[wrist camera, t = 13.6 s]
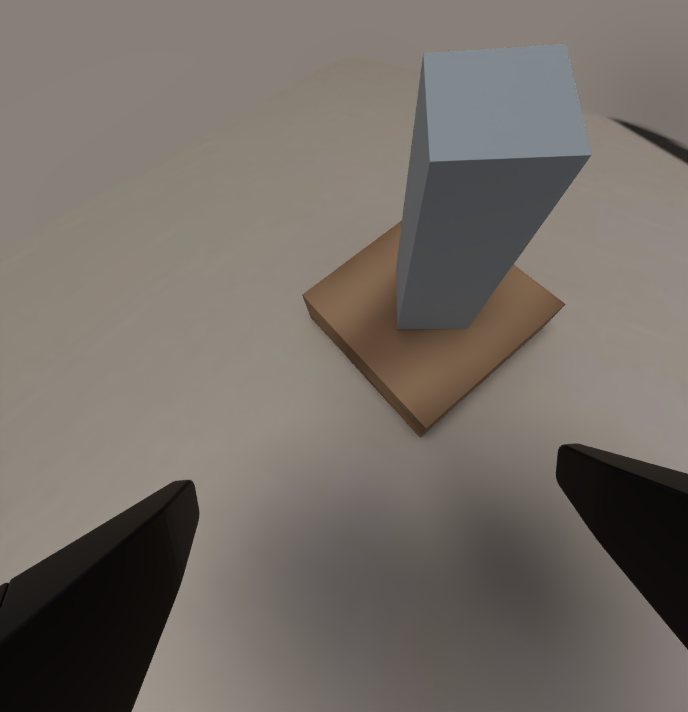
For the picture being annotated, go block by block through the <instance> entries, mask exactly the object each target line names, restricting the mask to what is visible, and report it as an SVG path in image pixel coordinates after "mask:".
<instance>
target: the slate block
mask: <svg viewBox="0 0 688 712" xmlns="http://www.w3.org/2000/svg"><path fill="white" fill-rule="evenodd" d="M590 156H591V151H590V147H589V142H588V138H587V133H586V129H585V125H584V120H583V116H582V112H581V107H580V103H579V99H578V94H577V90H576V86H575V81H574V77H573V72H572V68H571V64H570V59H569V55H568V51H567V46H566V44H557V45H541V46H526V47H512V48H511V47H510V48H494V49H479V50H463V51H447V52H432V53H423V61H422V68H421V75H420V83H419V91H418V99H417V107H416V115H415V123H414V130H413V138H412V146H411V154H410V162H409V170H408V177H407V185H406V193H405V201H404V209H403V217H402V224H401V232H400V240H399V248H398V256H397V264H396V300H397V329H468V327H469V326H470V324H471V323H472V322H473V320H474V319H475V317H476V316H477V315H478V313H479V312H480V310H481V309H482V308H483V306H484V305H485V303H486V302H487V301H488V299H489V298H490V296H491V295H492V294H493V292H494V291H495V289H496V288H497V287H498V285H499V284H500V282H501V281H502V280H503V278H504V277H505V275H506V274H507V273H508V271H509V270H510V268H511V267H512V266H513V264H514V263H515V261H516V260H517V259H518V257H519V256H520V254H521V253H522V252H523V250H524V249H525V247H526V246H527V245H528V243H529V242H530V240H531V239H532V238H533V236H534V235H535V233H536V232H537V231H538V229H539V228H540V226H541V225H542V224H543V222H544V221H545V219H546V218H547V217H548V215H549V214H550V212H551V211H552V210H553V208H554V207H555V205H556V204H557V203H558V201H559V200H560V198H561V197H562V196H563V194H564V193H565V191H566V190H567V189H568V187H569V186H570V184H571V183H572V182H573V180H574V179H575V177H576V176H577V175H578V173H579V172H580V170H581V169H582V168H583V166H584V165H585V163H586V162H587V161H588V159H589V158H590Z"/></svg>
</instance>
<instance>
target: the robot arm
mask: <svg viewBox="0 0 688 712" xmlns="http://www.w3.org/2000/svg"><path fill="white" fill-rule="evenodd" d="M556 479H557V482H558V484H559V486H560V487H561V489H562V490H563V492H564V493H565V495H566V496H567V498H568V499H569V500H570V502H571V503H572V505H573V506H574V508H575V509H576V511H577V512H578V513H579V515H580V516H581V518H582V519H583V521H584V522H585V524H586V525H587V526H588V528H589V529H590V531H591V532H592V533H593V535H594V536H595V538H596V539H597V540H598V542H599V543H600V544H601V545H602V547H603V548H604V549H605V550H606V552H607V553H608V554H609V555H610V556H611V558H612V559H613V560H614V561H615V562H616V564H617V565H618V566H619V567H620V569H621V570H622V571H623V572H624V573H625V575H626V576H627V577H628V578H629V579H630V581H631V582H632V583H633V584H634V585H635V587H636V588H637V589H638V590H639V591H640V593H641V594H642V595H643V596H644V597H645V599H646V600H647V601H648V602H649V604H650V605H651V606H652V607H653V608H654V610H655V611H656V612H657V613H658V614H659V616H660V617H661V618H662V619H663V620H664V622H665V623H666V624H667V625H668V626H669V628H670V629H671V630H672V631H673V633H674V634H675V635H676V636H677V637H678V639H679V640H680V641H681V642H682V643H683V645H684V646H685V647H686V648H687V649H688V474H687V473H683V472H679V471H676V470H672V469H669V468H665V467H661V466H658V465H654V464H650V463H647V462H643V461H640V460H636V459H632V458H629V457H625V456H622V455H618V454H614V453H611V452H607V451H603V450H600V449H596V448H593V447H589V446H585V445H582V444H565V445H561V446H560V447H559V449H558V455H557V466H556ZM198 521H199V506H198V501H197V495H196V490H195V485H194V483H193V481H191V480H180V481H174V482H172V483H170V484H168V485H167V486H165V487H163V488H162V489H160V490H158V491H157V492H155V493H153V494H152V495H150V496H149V497H147V498H145V499H144V500H142V501H140V502H139V503H137V504H135V505H134V506H132V507H130V508H129V509H127V510H125V511H124V512H122V513H120V514H119V515H117V516H115V517H114V518H112V519H110V520H109V521H107V522H105V523H104V524H102V525H100V526H99V527H97V528H95V529H94V530H92V531H90V532H89V533H87V534H86V535H84V536H82V537H81V538H79V539H77V540H76V541H74V542H72V543H71V544H69V545H67V546H66V547H64V548H62V549H61V550H59V551H57V552H56V553H54V554H52V555H51V556H49V557H47V558H46V559H44V560H42V561H41V562H39V563H37V564H36V565H34V566H32V567H31V568H29V569H27V570H26V571H24V572H23V573H21V574H19V575H18V576H16V577H14V578H13V579H11V580H10V582H9V583H4V584H2V585H1V586H0V712H132V709H133V707H134V704H135V701H136V699H137V696H138V694H139V691H140V689H141V686H142V684H143V681H144V678H145V676H146V673H147V671H148V668H149V666H150V663H151V660H152V658H153V655H154V653H155V650H156V648H157V645H158V642H159V640H160V637H161V635H162V632H163V630H164V627H165V624H166V622H167V619H168V617H169V614H170V612H171V609H172V607H173V604H174V601H175V599H176V596H177V593H178V591H179V588H180V585H181V582H182V579H183V575H184V572H185V568H186V565H187V561H188V557H189V554H190V550H191V546H192V543H193V539H194V536H195V532H196V528H197V525H198Z"/></svg>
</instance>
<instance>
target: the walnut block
mask: <svg viewBox="0 0 688 712" xmlns="http://www.w3.org/2000/svg"><path fill="white" fill-rule="evenodd" d="M401 224H402V221H401V222H399V223H398V224H397V225H395V226H394V227H393V228H391V229H390V230H388V231H387V232H386V233H384V234H383V235H382V236H380V237H379V238H378V239H376V240H375V241H374V242H372V243H371V244H370V245H368V246H367V247H366V248H364V249H363V250H362V251H360V252H359V253H358V254H356V255H355V256H354V257H352V258H351V259H350V260H348V261H347V262H346V263H344V264H343V265H342V266H340V267H339V268H338V269H336V270H335V271H334V272H332V273H331V274H329V275H328V276H327V277H325V278H324V279H323V280H321V281H320V282H319V283H317V284H316V285H315V286H313V287H312V288H311V289H309V290H308V291H307V292H305V293H304V294H303V295H302V296H303V298H304V301H305V304H306V306H307V309H308V311H309V314H310V316H311V318H312V319H313V320H314V321H315V322H316V324H317V325H318V326H319V327H320V328H321V329H322V330H323V331H324V332H325V333H326V335H327V336H328V337H329V338H330V339H331V340H332V341H333V342H334V343H335V344H336V346H337V347H338V348H339V349H340V350H341V351H342V352H343V353H344V354H345V355H346V357H347V358H348V359H349V360H350V361H351V362H352V363H353V364H354V365H355V366H356V368H357V369H358V370H359V371H360V372H361V373H362V374H363V375H364V376H365V377H366V378H367V380H368V381H369V382H370V383H371V384H372V385H373V386H374V387H375V388H376V389H377V391H378V392H379V393H380V394H381V395H382V396H383V397H384V398H385V399H386V400H387V402H388V403H389V404H390V405H391V406H392V407H393V408H394V409H395V410H396V411H397V413H398V414H399V415H400V416H401V417H402V418H403V419H404V420H405V421H406V422H407V424H408V425H409V426H410V427H411V428H412V429H413V430H414V431H415V432H416V433H417V434H418V436H419V437H421V436H422V435H423V434H425V433H426V432H427V431H428V430H429V429H430V428H431V427H432V426H433V425H435V424H436V423H437V422H438V421H439V420H440V419H441V418H442V417H444V416H445V415H446V414H447V413H448V412H449V411H450V410H451V409H452V408H454V407H455V406H456V405H457V404H458V403H459V402H460V401H461V400H463V399H464V398H465V397H466V396H467V395H468V394H469V393H470V392H471V391H473V390H474V389H475V388H476V387H477V386H478V385H479V384H480V383H482V382H483V381H484V380H485V379H486V378H487V377H488V376H489V375H490V374H492V373H493V372H494V371H495V370H496V369H497V368H498V367H499V366H501V365H502V364H503V363H504V362H505V361H506V360H507V359H508V358H509V357H511V356H512V355H513V354H514V353H515V352H516V351H517V350H518V349H520V348H521V347H522V346H523V345H524V344H525V343H526V342H527V341H528V340H530V339H531V338H532V337H533V336H534V335H535V334H536V333H537V332H539V331H540V330H541V329H542V328H543V327H544V326H545V325H546V324H547V323H548V322H549V321H550V320H551V319H552V318H553V317H554V316H555V315H556V314H557V313H558V312H559V311H560V310H561V308H562V307H563V306H564V305H565V303H563V302H562V301H561V300H559V299H558V298H557V297H555V296H554V295H553V294H552V293H550V292H549V291H548V290H546V289H545V288H544V287H542V286H541V285H540V284H538V283H537V282H536V281H535V280H533V279H532V278H531V277H529V276H528V275H527V274H525V273H524V272H523V271H521V270H520V269H519V268H518V267H516V266H515V265H514V264H513V266H512V267H511V268H510V270H509V271H508V273H507V274H506V275H505V277H504V278H503V280H502V281H501V282H500V284H499V285H498V287H497V288H496V289H495V291H494V292H493V294H492V295H491V296H490V298H489V299H488V301H487V302H486V303H485V305H484V306H483V308H482V309H481V310H480V312H479V313H478V315H477V316H476V317H475V319H474V320H473V322H472V323H471V324H470V326H469V327H468V329H397V300H396V264H397V256H398V248H399V240H400V232H401Z"/></svg>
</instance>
